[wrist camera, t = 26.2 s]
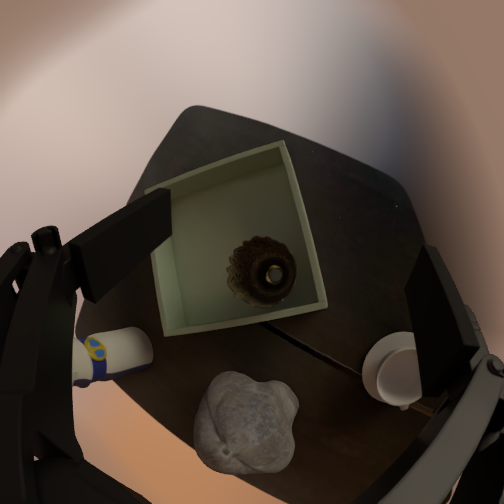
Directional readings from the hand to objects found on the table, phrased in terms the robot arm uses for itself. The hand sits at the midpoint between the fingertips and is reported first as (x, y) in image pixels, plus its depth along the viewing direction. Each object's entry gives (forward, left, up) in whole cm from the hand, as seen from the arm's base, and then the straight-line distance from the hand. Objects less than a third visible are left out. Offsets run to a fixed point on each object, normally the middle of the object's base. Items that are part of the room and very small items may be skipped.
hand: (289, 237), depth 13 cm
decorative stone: (-18, +11, -23) cm, 31 cm away
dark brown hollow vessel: (0, +5, -23) cm, 23 cm away
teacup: (-16, -8, -23) cm, 29 cm away
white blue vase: (-7, +31, -23) cm, 39 cm away
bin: (+5, +10, -23) cm, 26 cm away
